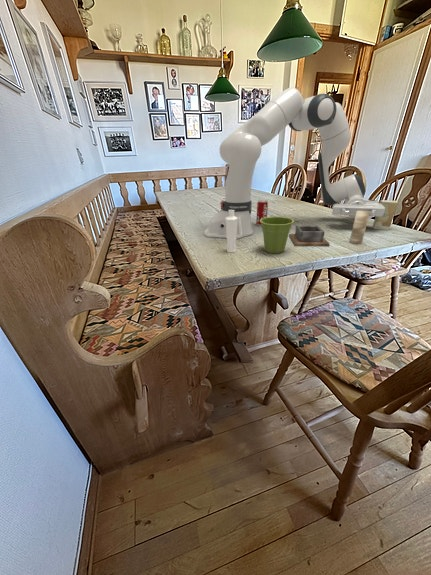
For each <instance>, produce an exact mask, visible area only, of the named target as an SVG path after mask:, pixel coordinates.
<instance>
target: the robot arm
mask: <svg viewBox="0 0 431 575" xmlns="http://www.w3.org/2000/svg"><path fill="white" fill-rule="evenodd" d="M288 126H289V128H290V129H291V130H293V131H295V132H302V131H312V130H314V129H317V130H318V132H319V136H320V137H319V138H320V140H321V150H320V152H319V153H318V156H317V161H318V163H317V164H318V172H319V173H318V174H319V179H320V180H319V181H320V187H321V189H320V191H321V192H320V197H321V201H322V203H323V204H324V205H326V206H330V207H331V206H332V207H331V209H332V210H331V211H332V212H331V214H332V215H337V216H338V215H339V216H348V217H350V218H353V219H355V216H356V212H357V211H360V210H363V211H369V212H370V214H369V217H372V218H373V217H376V216H380V217H381V216H383V214H384V211H385V207H384V206H383V205H382V204H380V201H379V200H375V199H367V198H364V197H365V194H366V186H365V183H364V180H363V179H362V177H361V176H360V175H359V174H355V173H353V174H350V175H348V176H346V177H344V178H342V179H339V180H337V181H335V182H333V183H331V182H330V174H329V173H330V172H329V167H330V166H331V165H332V163H333V162H334V161H335V160H336V159H337V158H338V157H339V156H341V155H342V153H344V152H345V150H346V149H347V147H348V146H349V144H350V142H351V138H352V134H351V130H350V129H351V128H350V125H349V121H348V118H347V115H346V112H345V110H344V108H343V106H342V104H341V103H339V102H335V100H334V97H332V96H331V95H330V94H327V93H319V94H316V95H313V96H309V97H306V98H303V96H302V94H301V92H300V91H299V89H298V88H295V87H287V88H286V89H285V90H283V91H281V92H280V93H278V94H277V95H276V96H274V97H273V98H272V99H271V100H269V101H268V102H267V103H266V104H265V105H264V106H263V107H262V108H261V109H260V110H259V111H258V112H256V113H255V114H254V115H253V116H252V117H250V119H248V120H247V121H246V122H244V123H243V124H241V125H240V126H239V127H237V128H236V129H235V130H233V132H232V133H231V134H229V135H228V136H227V137H225V138H224V139H223V141H222V142H221V144H220V146H219V154H220V157H221V159H222V160H223V161H224V162H225V163H226V164H228V165H229V166H228V170H227V171H228V173H227V177H226V180H225V181H224V182H225V183H224V190H225V192H224V194H225V195H224V196H225V198H224V199H225V200H221V201H220V210H219V211H218V212H217V213H216V214H214V215H213V216H212V217H211V218H210V220H209V222H208V224H209V225H208V227H207V228H205V230H204V232H203V234H204V236H205V237H207V238H225V239H227V234H226V221H225V218H226V217H228V216H229V210H235V211H234V216H235V217H237V218H238V224H237V236H236V240H238V239H241V238H243V237H248V236H251V235H252V234H254V230H253V226H252V211H253V207H252V206H253V203H252V200H251V199H252V198H251V197H252V181H253V175H254V173H255V167H256V164H257V161H258V160H259V158H260V157H261V155H262V147H263V146H265V145H267V144H268V143H270V142H271V141H272V140H274V139H275V137H277V135H279V134H280V133H281V132H282V131H283V130H284V129H286V127H288ZM344 200H345V201H344ZM342 201H344V203H340V202H342Z"/></svg>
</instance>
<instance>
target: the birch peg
mask: <svg viewBox="0 0 431 575" xmlns="http://www.w3.org/2000/svg"><path fill="white" fill-rule="evenodd" d="M369 214H370V212H369V211H363V210H360V211H357V212H356V216H355V218H354V221H353V225H352V229H351V234H350V238H349V244H353V245H361V244H363V240H364V236H365V234H366V229H367V225H368V222H369V217H370V216H369Z"/></svg>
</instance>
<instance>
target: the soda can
mask: <svg viewBox="0 0 431 575" xmlns="http://www.w3.org/2000/svg"><path fill="white" fill-rule="evenodd" d="M268 209H269V202H268V199H258V201H257V203H256V221H255V222H256V223H255V224H256V225H257V226H260V227H262V224H261V222H260V220H261V219H263V218H267V217H268Z"/></svg>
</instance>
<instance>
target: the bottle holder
mask: <svg viewBox="0 0 431 575" xmlns="http://www.w3.org/2000/svg"><path fill="white" fill-rule="evenodd" d="M288 238H289V239H290V241H291V242H292V244H293V246H294V247H330V242H329V241H328V240H327V239H326V238H325V231H324V230H323V229H322V227H320V226H319V225H296V226H295V231H294V233H289V234H288Z"/></svg>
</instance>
